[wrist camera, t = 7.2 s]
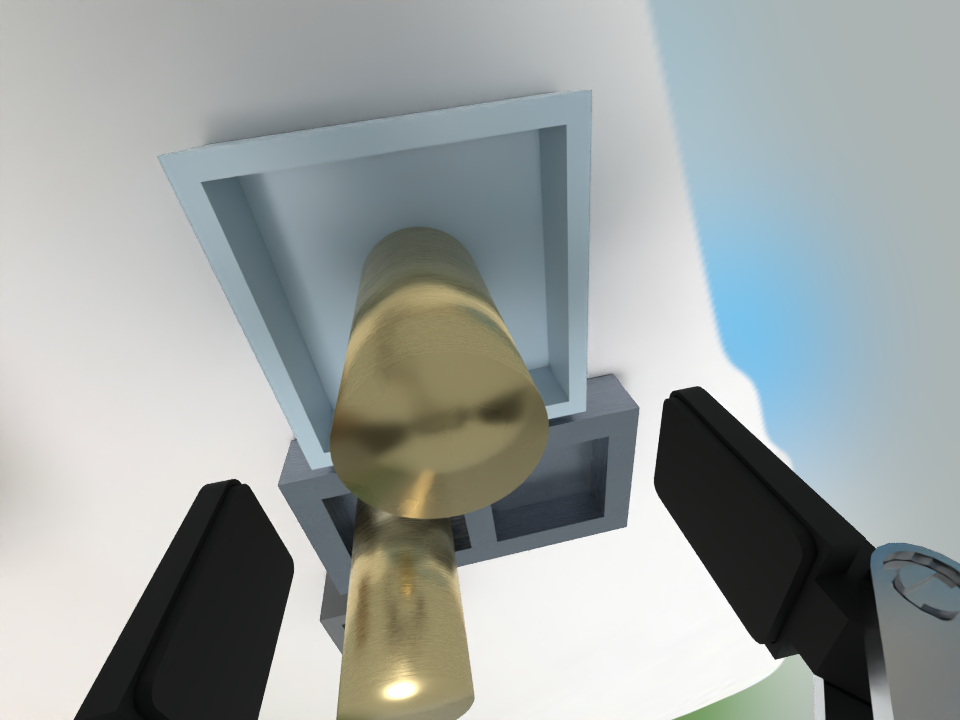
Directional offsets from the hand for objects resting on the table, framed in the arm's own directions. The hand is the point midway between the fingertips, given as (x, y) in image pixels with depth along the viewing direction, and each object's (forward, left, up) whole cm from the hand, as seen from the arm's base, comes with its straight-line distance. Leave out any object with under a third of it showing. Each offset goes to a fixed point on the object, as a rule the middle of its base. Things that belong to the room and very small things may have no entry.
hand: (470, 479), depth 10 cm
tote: (-1, 0, -11) cm, 11 cm away
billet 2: (+11, -4, -10) cm, 16 cm away
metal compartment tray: (+11, 0, -11) cm, 16 cm away
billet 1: (-1, 0, -11) cm, 11 cm away
